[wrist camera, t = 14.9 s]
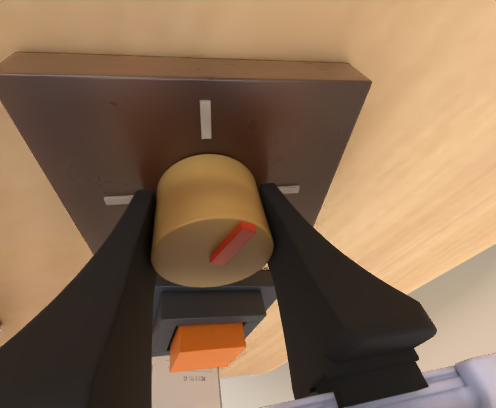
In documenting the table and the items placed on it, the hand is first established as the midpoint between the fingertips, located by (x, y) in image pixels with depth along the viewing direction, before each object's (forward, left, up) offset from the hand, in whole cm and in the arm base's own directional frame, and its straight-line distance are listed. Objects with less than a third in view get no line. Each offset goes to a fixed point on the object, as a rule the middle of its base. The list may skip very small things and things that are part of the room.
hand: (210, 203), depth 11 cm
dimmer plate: (0, 0, -3) cm, 3 cm away
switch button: (+3, -14, +1) cm, 14 cm away
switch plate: (+3, -14, -3) cm, 15 cm away
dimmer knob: (0, 0, -1) cm, 1 cm away
